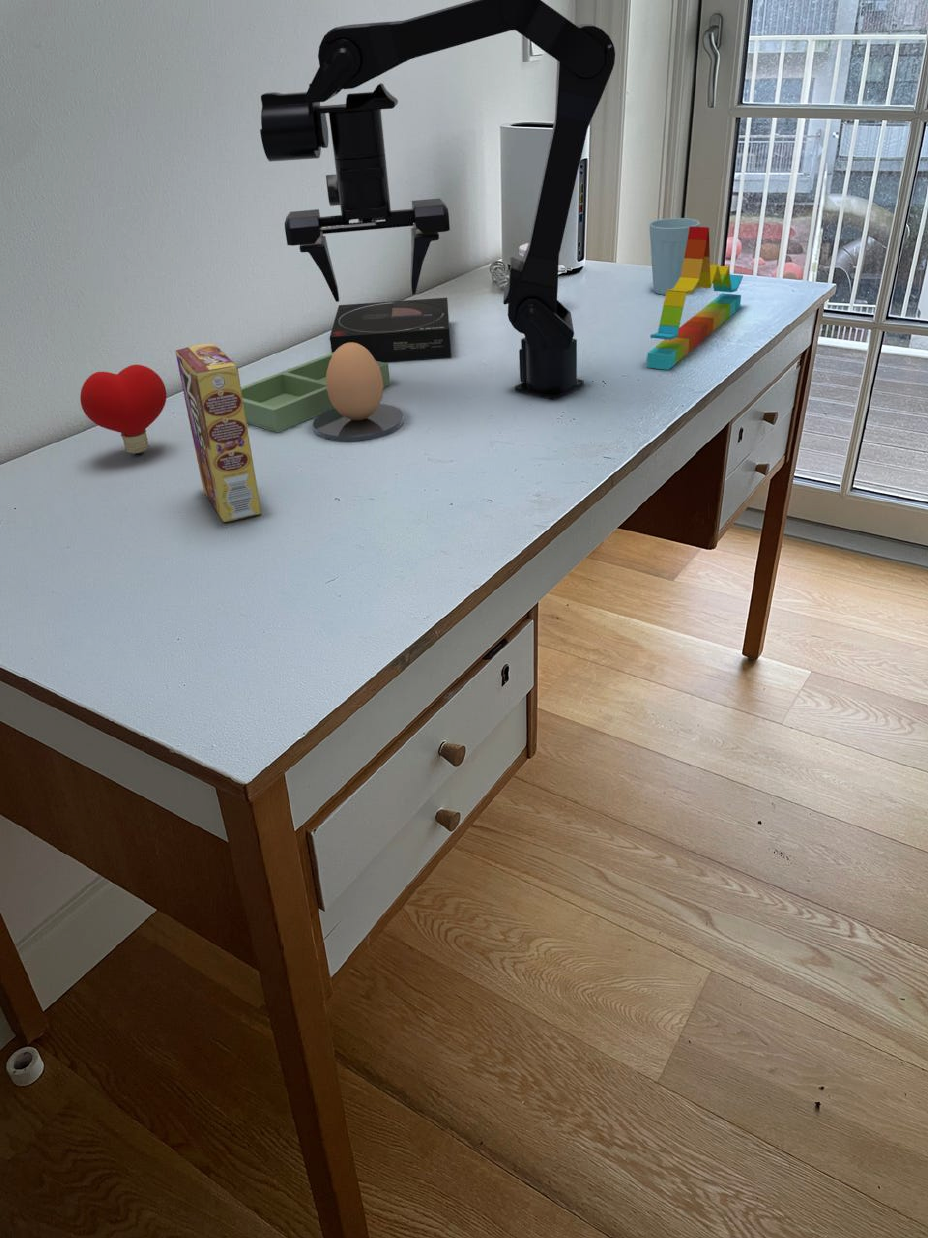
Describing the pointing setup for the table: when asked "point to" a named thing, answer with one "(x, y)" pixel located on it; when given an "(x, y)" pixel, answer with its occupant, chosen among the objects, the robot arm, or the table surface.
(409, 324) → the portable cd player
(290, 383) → the tray
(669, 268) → the cup
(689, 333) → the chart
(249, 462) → the candy box
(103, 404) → the light bulb
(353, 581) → the table surface
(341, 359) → the egg
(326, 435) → the coaster
